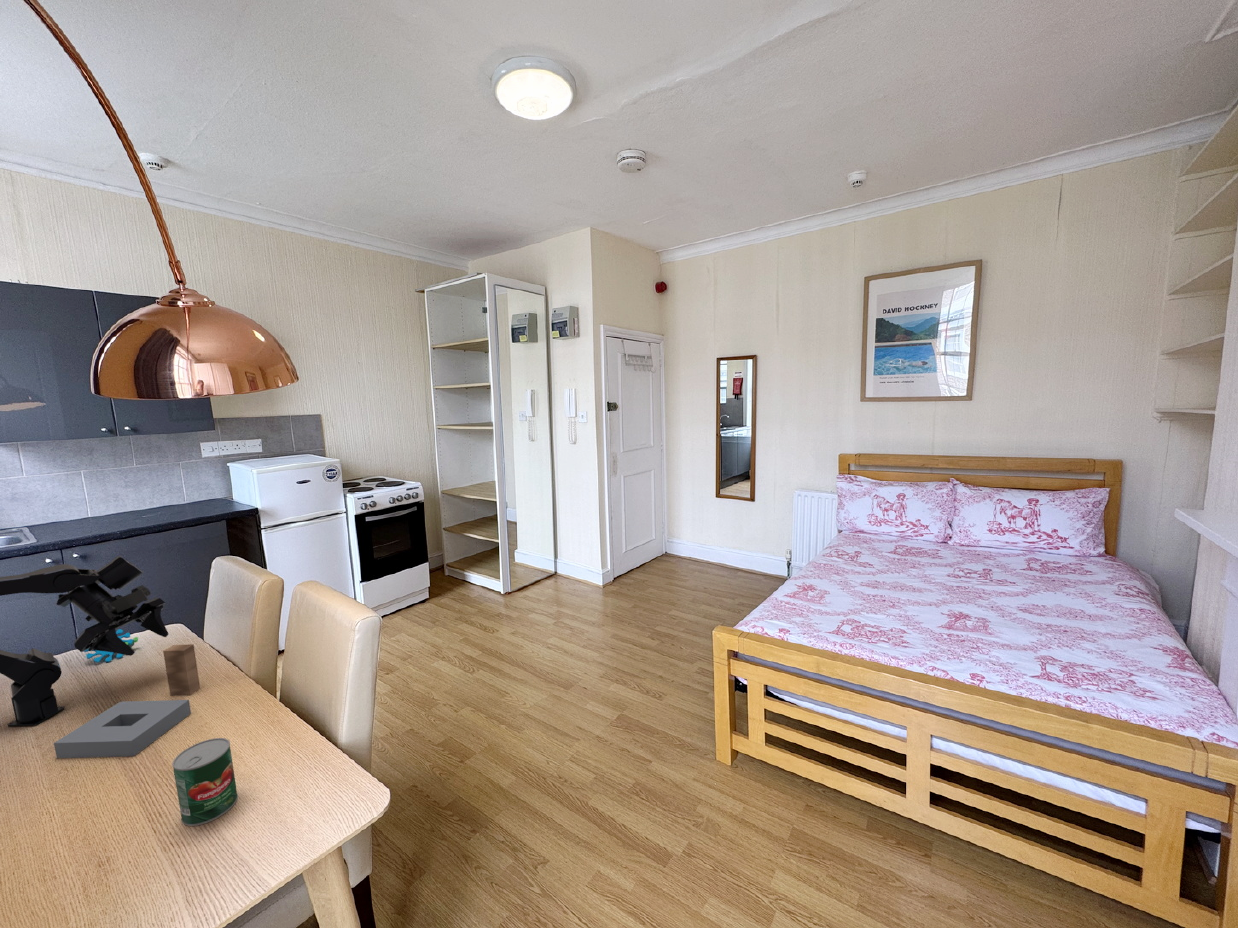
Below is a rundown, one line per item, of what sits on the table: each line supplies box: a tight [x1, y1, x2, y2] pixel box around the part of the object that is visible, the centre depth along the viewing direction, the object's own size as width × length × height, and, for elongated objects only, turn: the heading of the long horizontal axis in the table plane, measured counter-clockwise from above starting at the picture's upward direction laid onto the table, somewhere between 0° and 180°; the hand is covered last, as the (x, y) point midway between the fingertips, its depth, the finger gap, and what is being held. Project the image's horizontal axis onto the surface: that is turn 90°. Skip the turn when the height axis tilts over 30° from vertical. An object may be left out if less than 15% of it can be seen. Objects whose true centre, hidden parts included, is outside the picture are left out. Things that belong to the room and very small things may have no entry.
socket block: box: [53, 699, 192, 759], centre depth 110 cm, size 16×14×4 cm
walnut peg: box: [162, 643, 201, 697], centre depth 125 cm, size 5×3×12 cm, turn 91°
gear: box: [82, 628, 139, 663], centre depth 145 cm, size 11×6×10 cm
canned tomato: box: [171, 737, 239, 827], centre depth 89 cm, size 8×8×11 cm
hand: (150, 644), depth 124 cm, fingers open, 9 cm apart
